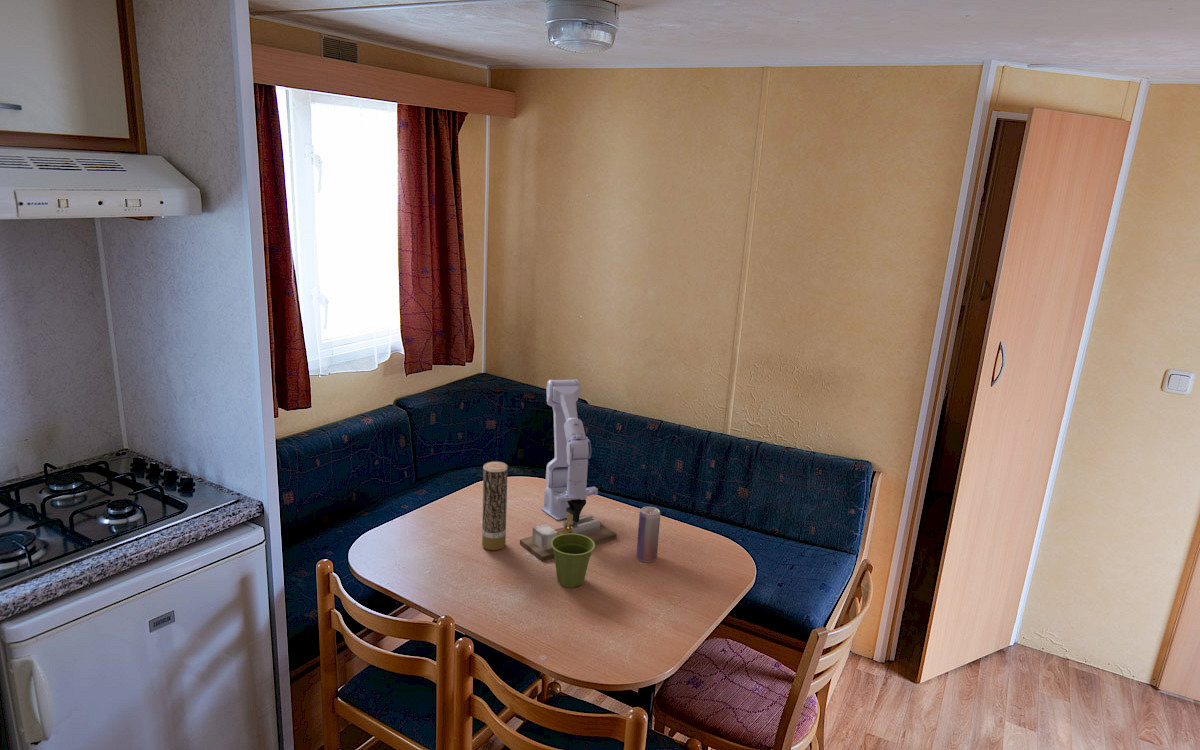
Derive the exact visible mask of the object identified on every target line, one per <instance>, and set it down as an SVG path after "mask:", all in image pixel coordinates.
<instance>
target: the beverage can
mask: <svg viewBox="0 0 1200 750" xmlns="http://www.w3.org/2000/svg"><path fill="white" fill-rule="evenodd" d="M638 516H639V517H638V527H637V528H638V530H637V543H636V555H635V556H636V558H637V559H638V561H641V562H642V563H653V562H654V561H656V559H657V558H658V551H659V538H660V537H659V535H660V523H661V510H660V509H659V508H657V507H654V506H651V505H650V506H643V507H642V508H640V511H639V515H638Z"/></svg>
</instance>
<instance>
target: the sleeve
mask: <svg viewBox="0 0 1200 750" xmlns="http://www.w3.org/2000/svg"><path fill="white" fill-rule="evenodd" d="M592 519H594V520H592ZM600 523H601V520H600V519H598V518H596V519H595V518H594V515H592V514H587V515H584V516H579V522H574V521H573V526H571V533H574V534H581V535H584V536H589V535H592V534H596V533H599V529H600ZM563 527H564V528H567V520H566V521H563Z"/></svg>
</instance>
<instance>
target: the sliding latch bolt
mask: <svg viewBox="0 0 1200 750" xmlns="http://www.w3.org/2000/svg"><path fill="white" fill-rule="evenodd" d="M566 511H567V512H568V513H567V518H566V521H567V528H564V529H561V530H557V531H556V532H558V535H561V534H568V533H571V526H573V514H575V510H573V509H572V508H570V507H567V508H566Z"/></svg>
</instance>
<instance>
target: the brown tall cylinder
mask: <svg viewBox="0 0 1200 750" xmlns="http://www.w3.org/2000/svg"><path fill="white" fill-rule="evenodd" d="M482 468H483V470H482V472H483V473H482V474H483V475H482V477H483V478H482V524H481V525H482V529H481V530H482V531H481V532H482V536H481V537H482V538H481V539H482V541H481V542H482V543H481V544H482V545H481V546H482V547H483V548H484V549H485V550H487V551H499V550H501V549H504V548H505V546H506V541H507V540H506V539H507V537H506V536H507V509H508V507H507V506H508V505H507V504H508V503H507V500H508V471H509V470H508V464H507V463H505V462H502V461H488V462H486V463H484V464H483V467H482Z"/></svg>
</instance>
